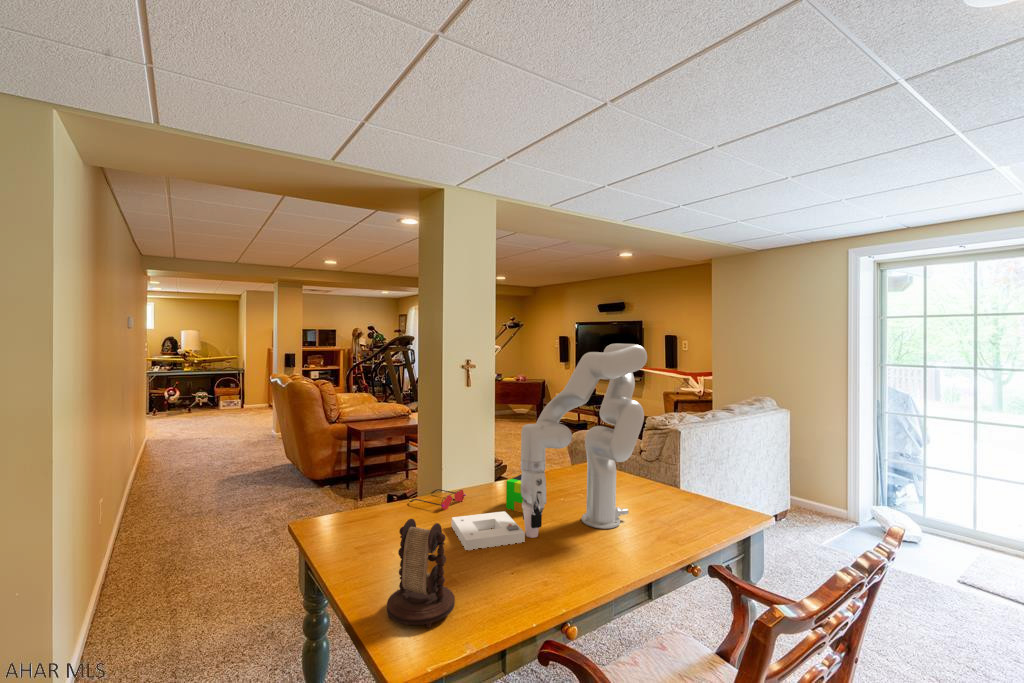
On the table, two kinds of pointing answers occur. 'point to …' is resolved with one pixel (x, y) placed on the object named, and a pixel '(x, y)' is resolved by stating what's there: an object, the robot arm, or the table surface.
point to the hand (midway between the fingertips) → (531, 522)
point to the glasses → (445, 504)
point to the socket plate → (501, 535)
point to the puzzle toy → (514, 494)
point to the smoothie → (529, 520)
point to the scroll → (420, 578)
